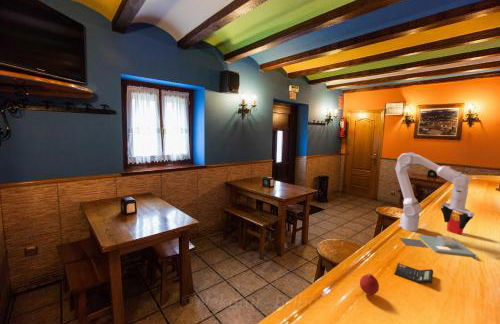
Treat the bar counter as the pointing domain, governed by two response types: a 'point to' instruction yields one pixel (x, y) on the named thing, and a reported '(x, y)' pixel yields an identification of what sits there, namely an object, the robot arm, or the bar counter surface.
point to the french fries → (454, 223)
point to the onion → (369, 284)
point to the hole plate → (455, 250)
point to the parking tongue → (413, 242)
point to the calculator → (414, 274)
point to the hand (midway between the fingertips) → (453, 225)
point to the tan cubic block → (445, 241)
